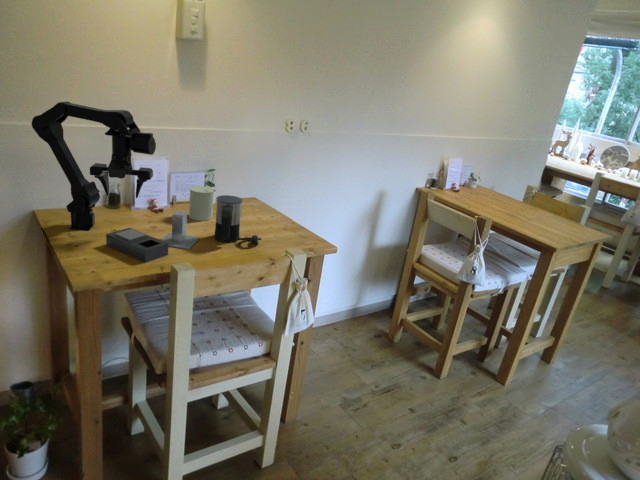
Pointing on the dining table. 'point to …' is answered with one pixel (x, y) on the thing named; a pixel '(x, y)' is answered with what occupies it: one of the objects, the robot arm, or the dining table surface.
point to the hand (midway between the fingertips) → (122, 196)
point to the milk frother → (229, 219)
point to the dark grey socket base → (137, 244)
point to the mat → (185, 245)
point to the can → (201, 203)
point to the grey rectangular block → (179, 226)
